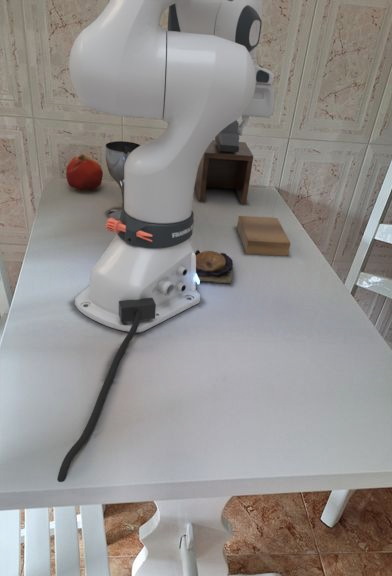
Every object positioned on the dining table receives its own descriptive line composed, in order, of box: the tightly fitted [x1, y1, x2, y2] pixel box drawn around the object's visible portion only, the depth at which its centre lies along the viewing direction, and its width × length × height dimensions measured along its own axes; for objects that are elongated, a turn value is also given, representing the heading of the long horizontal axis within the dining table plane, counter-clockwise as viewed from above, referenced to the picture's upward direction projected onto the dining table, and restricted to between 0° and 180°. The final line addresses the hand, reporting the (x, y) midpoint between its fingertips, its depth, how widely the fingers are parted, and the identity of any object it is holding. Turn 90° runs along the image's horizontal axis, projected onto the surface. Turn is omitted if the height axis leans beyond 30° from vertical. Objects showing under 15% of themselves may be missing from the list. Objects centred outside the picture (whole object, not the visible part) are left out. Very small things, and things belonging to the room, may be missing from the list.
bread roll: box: [194, 249, 234, 284], centre depth 94 cm, size 11×8×4 cm
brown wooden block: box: [236, 215, 291, 257], centre depth 107 cm, size 13×9×3 cm
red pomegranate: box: [65, 153, 104, 191], centre depth 121 cm, size 9×9×8 cm
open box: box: [195, 139, 254, 205], centre depth 125 cm, size 12×12×12 cm
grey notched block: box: [214, 119, 240, 152], centre depth 119 cm, size 10×5×6 cm, turn 5°
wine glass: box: [104, 140, 142, 221], centre depth 108 cm, size 8×8×15 cm
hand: (227, 134), depth 120 cm, fingers closed on grey notched block, 4 cm apart
